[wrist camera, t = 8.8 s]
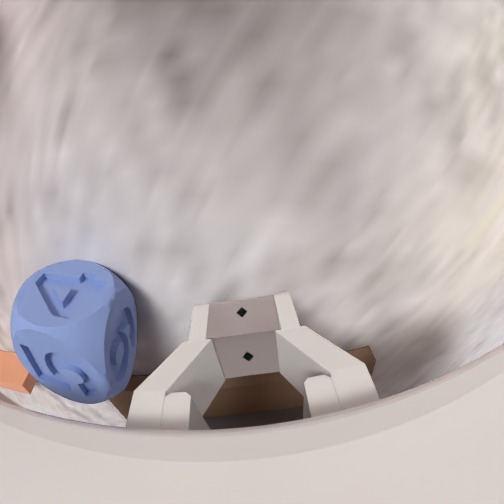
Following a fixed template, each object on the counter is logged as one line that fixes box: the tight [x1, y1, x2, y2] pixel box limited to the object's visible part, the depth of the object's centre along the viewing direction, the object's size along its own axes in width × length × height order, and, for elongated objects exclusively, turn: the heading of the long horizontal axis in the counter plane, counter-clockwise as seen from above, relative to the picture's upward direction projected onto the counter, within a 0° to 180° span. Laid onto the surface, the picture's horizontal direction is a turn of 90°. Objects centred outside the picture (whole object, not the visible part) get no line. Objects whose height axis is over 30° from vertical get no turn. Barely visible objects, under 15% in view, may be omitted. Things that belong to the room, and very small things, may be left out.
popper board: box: [109, 346, 376, 430], centre depth 14 cm, size 14×14×5 cm
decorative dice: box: [11, 260, 137, 404], centre depth 9 cm, size 4×4×4 cm
